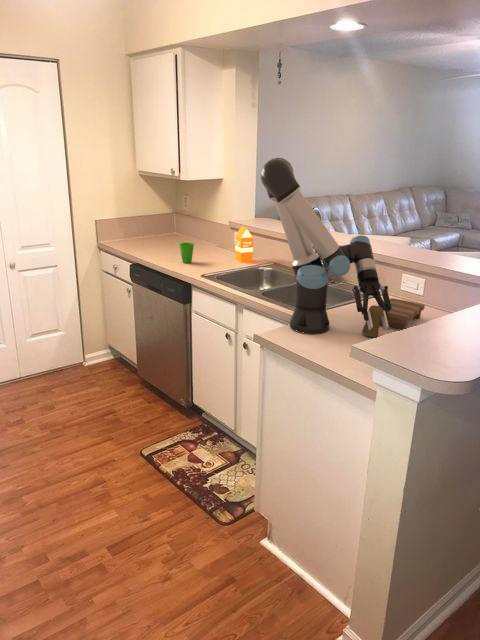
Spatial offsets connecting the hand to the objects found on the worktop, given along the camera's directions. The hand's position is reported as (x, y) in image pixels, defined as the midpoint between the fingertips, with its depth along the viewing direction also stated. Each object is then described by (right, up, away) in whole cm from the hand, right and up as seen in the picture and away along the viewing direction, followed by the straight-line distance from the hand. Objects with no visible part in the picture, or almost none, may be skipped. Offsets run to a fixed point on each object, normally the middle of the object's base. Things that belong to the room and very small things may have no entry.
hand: (378, 328), depth 187 cm
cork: (-2, -2, +5) cm, 6 cm away
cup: (-81, +36, +113) cm, 144 cm away
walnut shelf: (+13, +3, +21) cm, 25 cm away
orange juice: (-48, +38, +120) cm, 135 cm away
